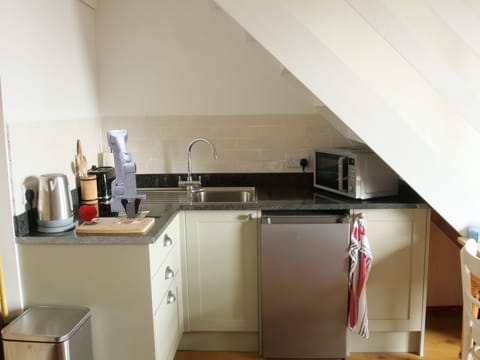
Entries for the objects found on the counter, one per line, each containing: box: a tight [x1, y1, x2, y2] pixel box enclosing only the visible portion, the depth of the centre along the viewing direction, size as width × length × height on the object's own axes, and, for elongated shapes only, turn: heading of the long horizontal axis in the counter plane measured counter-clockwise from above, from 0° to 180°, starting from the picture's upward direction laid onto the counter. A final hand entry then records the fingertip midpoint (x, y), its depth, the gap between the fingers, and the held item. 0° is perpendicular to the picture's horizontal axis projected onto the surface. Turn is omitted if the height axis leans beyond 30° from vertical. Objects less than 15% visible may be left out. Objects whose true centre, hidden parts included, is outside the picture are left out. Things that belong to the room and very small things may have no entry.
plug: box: [126, 201, 138, 218], centre depth 217 cm, size 4×4×7 cm
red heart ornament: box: [78, 204, 98, 225], centre depth 207 cm, size 9×7×10 cm
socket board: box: [112, 210, 150, 225], centre depth 217 cm, size 12×26×2 cm, turn 0°
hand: (132, 214), depth 217 cm, fingers closed on plug, 4 cm apart
